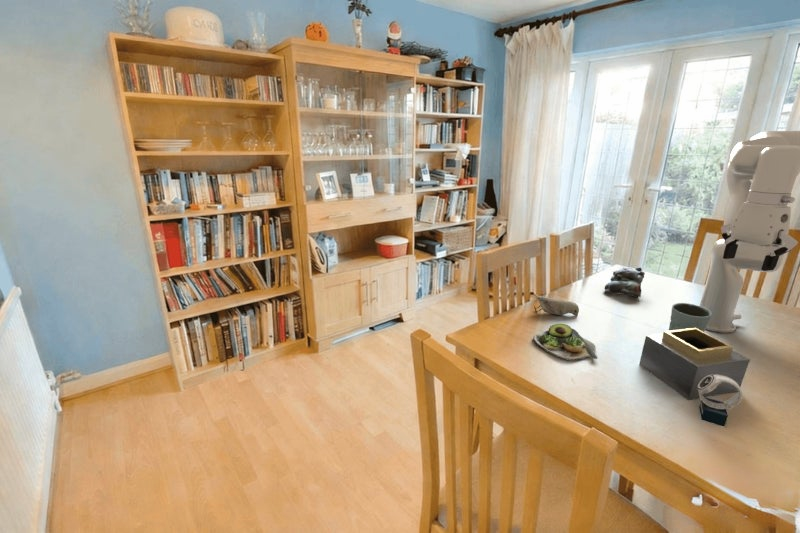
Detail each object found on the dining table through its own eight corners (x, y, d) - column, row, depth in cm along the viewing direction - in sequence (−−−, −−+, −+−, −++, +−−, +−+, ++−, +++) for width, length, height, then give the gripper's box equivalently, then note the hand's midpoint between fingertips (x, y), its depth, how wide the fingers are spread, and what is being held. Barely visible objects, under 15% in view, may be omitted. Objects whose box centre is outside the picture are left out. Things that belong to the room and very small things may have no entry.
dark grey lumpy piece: (596, 290, 164) (604, 260, 165) (616, 298, 168) (623, 268, 169) (626, 294, 150) (635, 260, 151) (647, 302, 153) (655, 269, 154)
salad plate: (614, 357, 116) (617, 343, 114) (572, 371, 109) (574, 357, 107) (565, 329, 132) (567, 317, 131) (525, 340, 126) (527, 328, 124)
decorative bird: (579, 320, 139) (582, 301, 136) (534, 316, 142) (536, 298, 139) (576, 313, 144) (579, 295, 141) (532, 310, 147) (534, 292, 144)
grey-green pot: (695, 337, 126) (704, 305, 122) (707, 353, 117) (717, 318, 113) (660, 332, 129) (668, 301, 125) (669, 347, 120) (678, 314, 116)
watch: (689, 403, 95) (700, 366, 91) (730, 415, 91) (743, 377, 87) (691, 417, 90) (702, 378, 87) (734, 430, 86) (748, 390, 83)
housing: (684, 358, 114) (694, 322, 110) (738, 391, 99) (752, 351, 95) (639, 365, 111) (647, 327, 107) (688, 400, 96) (700, 358, 92)
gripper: (822, 204, 85) (796, 274, 91) (743, 193, 102) (725, 253, 107) (796, 205, 84) (772, 276, 90) (720, 194, 100) (703, 255, 106)
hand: (746, 264), depth 98 cm, fingers open, 9 cm apart
